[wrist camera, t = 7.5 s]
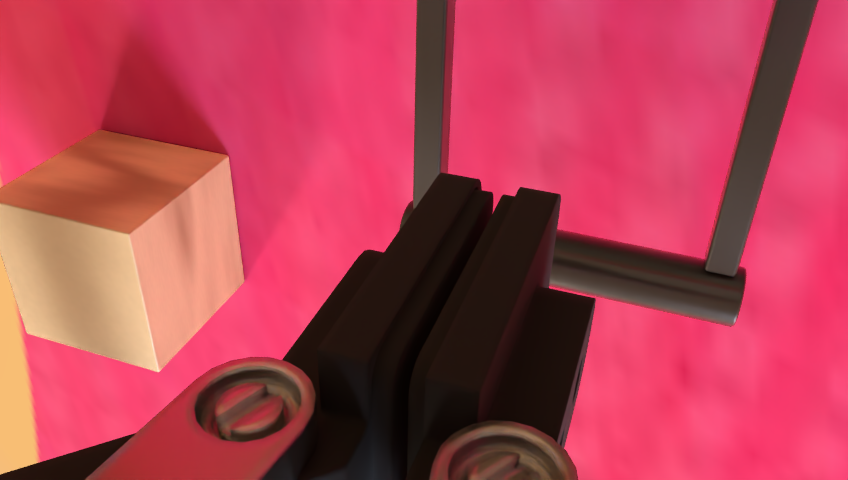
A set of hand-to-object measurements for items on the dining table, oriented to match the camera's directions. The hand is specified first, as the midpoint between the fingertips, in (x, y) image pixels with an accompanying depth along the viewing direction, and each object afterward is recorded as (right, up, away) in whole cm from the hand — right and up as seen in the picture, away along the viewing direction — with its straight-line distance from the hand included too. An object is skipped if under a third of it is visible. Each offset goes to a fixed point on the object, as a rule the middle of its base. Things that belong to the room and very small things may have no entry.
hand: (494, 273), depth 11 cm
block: (-10, +2, +16) cm, 19 cm away
